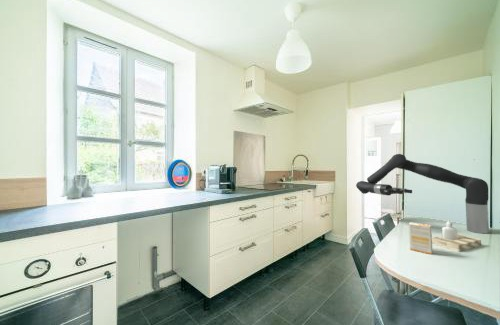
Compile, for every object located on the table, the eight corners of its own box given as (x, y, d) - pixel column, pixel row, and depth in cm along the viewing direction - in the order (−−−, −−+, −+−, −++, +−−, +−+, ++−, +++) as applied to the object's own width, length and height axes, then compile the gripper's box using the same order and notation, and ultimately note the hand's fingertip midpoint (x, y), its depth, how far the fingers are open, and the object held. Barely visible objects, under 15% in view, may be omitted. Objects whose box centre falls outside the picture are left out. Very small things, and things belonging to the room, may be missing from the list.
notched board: (453, 238, 114) (453, 233, 114) (481, 245, 104) (481, 239, 104) (431, 243, 108) (431, 237, 108) (458, 251, 97) (458, 245, 97)
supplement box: (432, 251, 98) (431, 224, 98) (431, 254, 95) (430, 226, 95) (411, 246, 104) (410, 221, 104) (409, 249, 101) (408, 223, 101)
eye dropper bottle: (443, 240, 112) (442, 218, 112) (457, 243, 107) (457, 220, 108) (441, 242, 109) (441, 220, 110) (456, 245, 105) (455, 222, 105)
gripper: (375, 184, 141) (399, 186, 126) (389, 183, 146) (414, 185, 131) (375, 195, 141) (399, 198, 126) (390, 194, 146) (414, 197, 130)
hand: (407, 192), depth 128 cm, fingers open, 8 cm apart
